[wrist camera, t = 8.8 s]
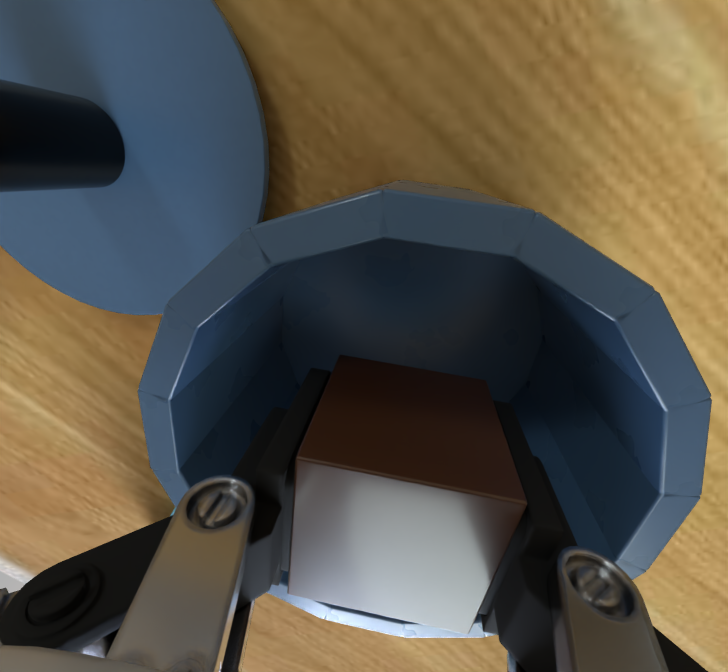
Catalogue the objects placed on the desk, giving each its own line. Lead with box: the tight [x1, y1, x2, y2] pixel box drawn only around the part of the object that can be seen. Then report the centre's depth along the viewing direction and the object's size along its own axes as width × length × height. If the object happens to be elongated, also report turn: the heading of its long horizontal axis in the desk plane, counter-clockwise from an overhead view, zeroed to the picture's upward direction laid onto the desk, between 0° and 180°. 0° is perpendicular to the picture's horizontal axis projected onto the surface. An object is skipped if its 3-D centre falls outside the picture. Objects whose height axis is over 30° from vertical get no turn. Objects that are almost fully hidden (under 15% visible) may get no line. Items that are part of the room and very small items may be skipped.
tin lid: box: [0, 0, 270, 315], centre depth 11 cm, size 14×14×7 cm
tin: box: [138, 180, 712, 638], centre depth 12 cm, size 13×13×8 cm
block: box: [287, 355, 527, 634], centre depth 9 cm, size 4×4×4 cm
